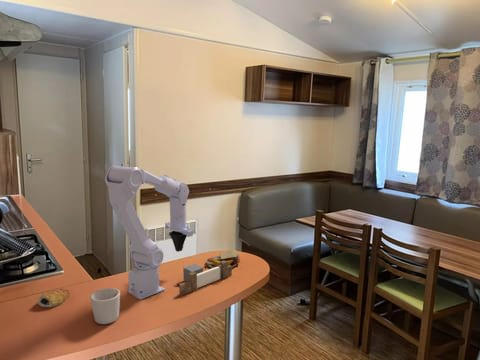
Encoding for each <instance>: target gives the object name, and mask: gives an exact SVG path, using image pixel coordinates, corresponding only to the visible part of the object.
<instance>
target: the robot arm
mask: <svg viewBox="0 0 480 360" xmlns="http://www.w3.org/2000/svg"><path fill="white" fill-rule="evenodd" d="M104 182H105V184H106V186H107V187H108V188H107V190H108V196H109V204H110V205H111V208H112V209H113V211H114V214H115V215H116V217H117V219H118V221H119V223H120V225H121V226H122V229H123V230H124V232H125V234H126V235H127V237H128V240H129V242H130V244H129V246H128V250H129V253H130V259H131V261H132V262H134V266H135V267H134V268H133V269H130V270H129V272H128V275H127V276H128V290H127V292H128V293H129V294H131V295H133V296H134V297H135V298H136V299H138V300H143V299H146V298H148V297H151V296H153V295H154V296H155V294H158V293H162V292H163V291H165V290H166V289H165V288H164V287H163V286H160V271H159V269H160V266H161V264H162V263H163V260H164V257H165V256H164V251H163V250H162V248H160V247H159V246H158V244H157V243H156V242H154V241H153V240H152V239H151V238H150V237H149V236H148V234H147V231H146V230H145V228H144V226H143V223H142V222H141V220H140V218H139V216H138V213H137V211H136V209H135V207H134V205H133V203H132V199H134V197H135V196H136V195H137V193H138V191H139V189H140V187H141V185H144V184H146V185H149V186H152V187H154V190H155V191H156V192H159V193H161V194H163V195H165V196H167V197H168V198H169V218H170V221H168V222H164V228H165V229H169V230H170V232H168V235H169V236H170V239H171V241H172V243H173V247H174V250H175V251H176V252H181V251H183V249H184V245H185V241H186V239H187V238H190V237H193V235H194V233H193V232H194V231H193V230H192V229H190V228H189V224H187V203H188V196H189V193H190V189H189V186H188V185H187V184H186V183H184V182H178V180H177V179H175V178H173V179H172V178H170V175H167V174H163V175H159V176H157V175H155V174H152V173H151V172H149V171H147V170H145V169H143V168H139V167H130V166H122V165H117V164H116V165H115V164H113V165H111V166H110V167H108V170H107V171H106V174H105V178H104Z"/></svg>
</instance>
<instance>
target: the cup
mask: <svg viewBox="0 0 480 360" xmlns="http://www.w3.org/2000/svg"><path fill="white" fill-rule="evenodd" d="M120 301H121V291H120V290H119V289H118V288H114V287H105V288H104V287H103V288H100V289H98V290H95V291H93V292H92V293H91V294H90V302H91V303H90V304H91V307H92V313H93V318H94V321H95V322H96V323H97V324H99V325H108V324H111V323H114V322H115V321H116V320H117V319H118V318H119V317H120V316H119V315H120V303H121V302H120Z"/></svg>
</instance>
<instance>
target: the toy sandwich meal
mask: <svg viewBox="0 0 480 360" xmlns="http://www.w3.org/2000/svg"><path fill="white" fill-rule="evenodd" d="M223 260H224V261H227V262H228V266H229V265H230V266H232V269H233V268H234V267H235V266H236V265H237V264H240V262H241V259H240V255H239V251H238V250H236V249H232V250H231V249H230V250H225V251H220V252H219V255H215V256H213V257H212V256H211V257H209V258H208V259H206V260H205V264H206V266H208V268H209V269H212V268H215V267H219V265H220V262H221V261H223Z"/></svg>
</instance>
